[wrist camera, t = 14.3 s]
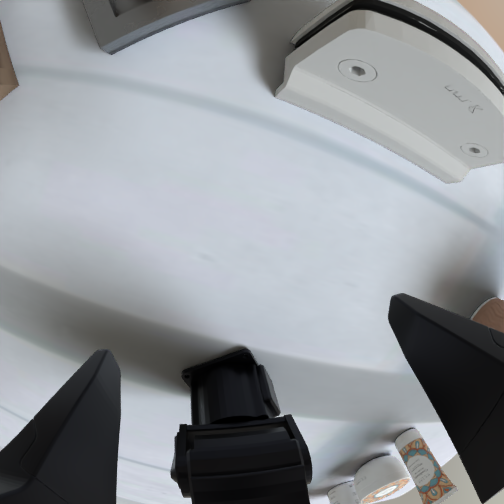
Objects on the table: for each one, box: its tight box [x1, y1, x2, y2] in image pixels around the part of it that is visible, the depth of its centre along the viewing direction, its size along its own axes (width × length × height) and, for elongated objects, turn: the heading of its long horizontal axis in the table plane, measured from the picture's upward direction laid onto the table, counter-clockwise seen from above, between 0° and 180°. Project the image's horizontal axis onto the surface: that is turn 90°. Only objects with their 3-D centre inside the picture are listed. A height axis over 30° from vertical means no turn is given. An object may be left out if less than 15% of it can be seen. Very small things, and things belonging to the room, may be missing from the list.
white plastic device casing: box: [275, 0, 504, 183], centre depth 16 cm, size 17×5×10 cm, turn 70°
